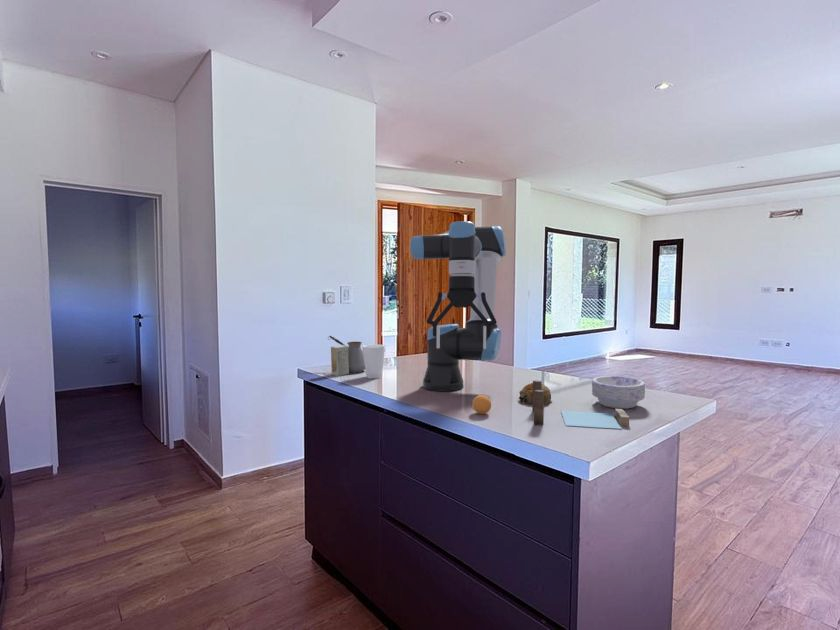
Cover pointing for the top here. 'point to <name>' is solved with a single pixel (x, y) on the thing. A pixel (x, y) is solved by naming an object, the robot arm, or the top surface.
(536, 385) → the post
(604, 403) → the grey stone bowl
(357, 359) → the coffee pot
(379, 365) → the foam cup
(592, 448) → the top surface
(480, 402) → the ball
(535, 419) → the post
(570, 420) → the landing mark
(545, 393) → the bread roll
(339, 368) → the skincare box
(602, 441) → the top surface
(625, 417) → the wall
